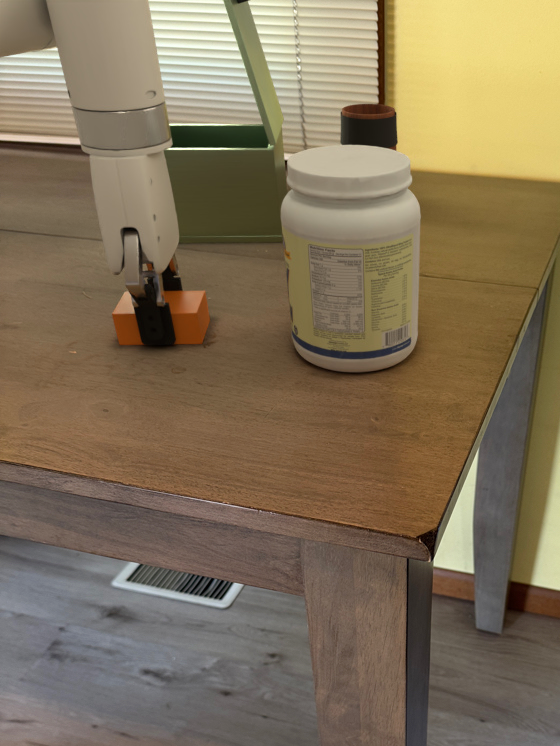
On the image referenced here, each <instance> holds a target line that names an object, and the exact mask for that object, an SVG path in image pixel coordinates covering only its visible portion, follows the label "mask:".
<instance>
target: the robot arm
mask: <svg viewBox="0 0 560 746" xmlns="http://www.w3.org/2000/svg"><path fill="white" fill-rule="evenodd" d="M155 37H156V36H155V31H154V26H153V20H152V13H151V8H150V2H149V0H0V58H4V57H11V56H15V55H20V54H26V53H35V52H41V51H43V52H44V51H48V50H53V49H56V50H57V53H58V57H59V61H60V65H61V69H62V73H63V78H64V82H65V86H66V89H67V94H68V99H69V103H70V105H71V110H72V115H73V118H74V119H73V120H74V122H75V126H76V131H77V135H78V139H79V143H80V148H81V150H82V152H84V153H85V154H88V155H89V169H90V177H91V185H92V192H93V199H94V203H95V209H96V215H97V220H98V225H99V230H100V235H101V241H102V246H103V251H104V255H105V260H106V265H107V268H108V271H109V272H110V273H111V274H112V275H114V276H119V275H120V274H121V273H122V272H123V270H124V286H125V289H126V290H127V291H129V293H130V294H131V300H132V305H133V307H134V311H135V316H136V320H137V324H138V329H139V333H140V338H141V342H142V343H143V344H144V345H143V346H167V345H171V346H172V345H175V344H174V343H175V341H176V336H175V331H174V326H173V321H172V316H171V311H170V306H169V302H168V303H165V299H164V291H184V289H183V285H182V284H183V283H182V278H181V276H180V277H179V275H180V270H179V269H180V268H179V265H178V260H177V257H176V254H175V252H176V250H177V249H178V246H179V243H178V242H179V229H178V221H177V214H176V209H175V203H174V198H173V192H172V188H171V183H170V178H169V173H168V169H167V164H166V159H165V156H164V150H166V149H169V148H170V147H171V146H172V145H173V143H172V137H171V131H170V125H169V124H170V120H169V113H168V107H167V102H166V96H165V92H164V91H165V89H164V83H163V79H162V74H161V73H162V72H161V67H160V66H161V65H160V60H159V56H158V50H157V44H156V38H155ZM143 265H146V268H147V269H146V270H145V269H144V268H143V267H144V266H143ZM145 279H146V280H145ZM146 282H147V283H146Z"/></svg>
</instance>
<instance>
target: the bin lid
mask: <svg viewBox="0 0 560 746" xmlns="http://www.w3.org/2000/svg"><path fill="white" fill-rule="evenodd" d="M222 1H223V5H224V8H225V11H226V14H227V18H228V21H229V23H230V26H231V30H232V33H233V36H234V39H235V42H236V46H237V48H238V51H239V55H240V57H241V60H242V64H243V67H244V71H245V73H246V76H247V79H248V82H249V85H250V89H251V91H252V94H253V99H254V101H255V104H256V107H257V110H258V114H259V116H260V119H261V124H263V126H264V129H265V132H266V135H267V138H268V141H269V144H270V146H272V145H275V144H276V143H277V140H278V136H279V133H280V130H281V127H282V128H283V123H284V121H285V119H284V118H285V117H284V115H283V111H282V107H281V106H280V102H279V98H278V95H277V92H276V88H275V86H274V81H273V79H272V75H271V72H270V69H269V65H268V62H267V59H266V55H265V51H264V49H263V46H262V43H261V39H260V36H259V33H258V29H257V25H256V23H255V20H254V16H253V13H252V10H251V6H250V4H249V3H250V0H222Z"/></svg>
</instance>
